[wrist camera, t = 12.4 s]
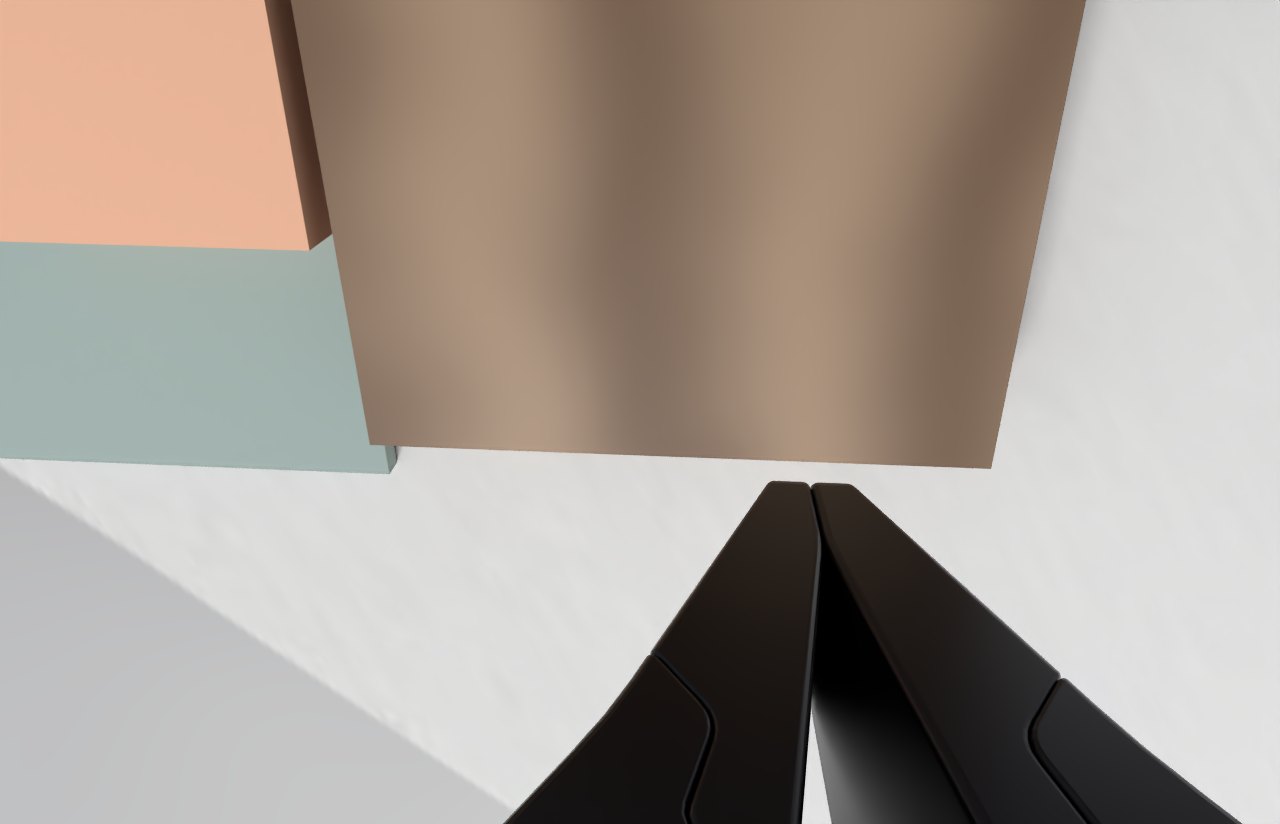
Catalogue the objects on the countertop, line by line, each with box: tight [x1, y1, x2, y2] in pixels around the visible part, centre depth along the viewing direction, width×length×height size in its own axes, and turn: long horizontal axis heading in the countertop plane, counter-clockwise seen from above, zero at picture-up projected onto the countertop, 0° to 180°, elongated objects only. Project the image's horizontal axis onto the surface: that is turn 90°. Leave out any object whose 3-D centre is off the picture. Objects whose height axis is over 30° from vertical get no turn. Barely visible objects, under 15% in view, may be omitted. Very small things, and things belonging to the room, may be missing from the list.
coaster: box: [0, 0, 332, 251], centre depth 18 cm, size 7×7×2 cm
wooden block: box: [291, 0, 1086, 469], centre depth 17 cm, size 14×16×2 cm
